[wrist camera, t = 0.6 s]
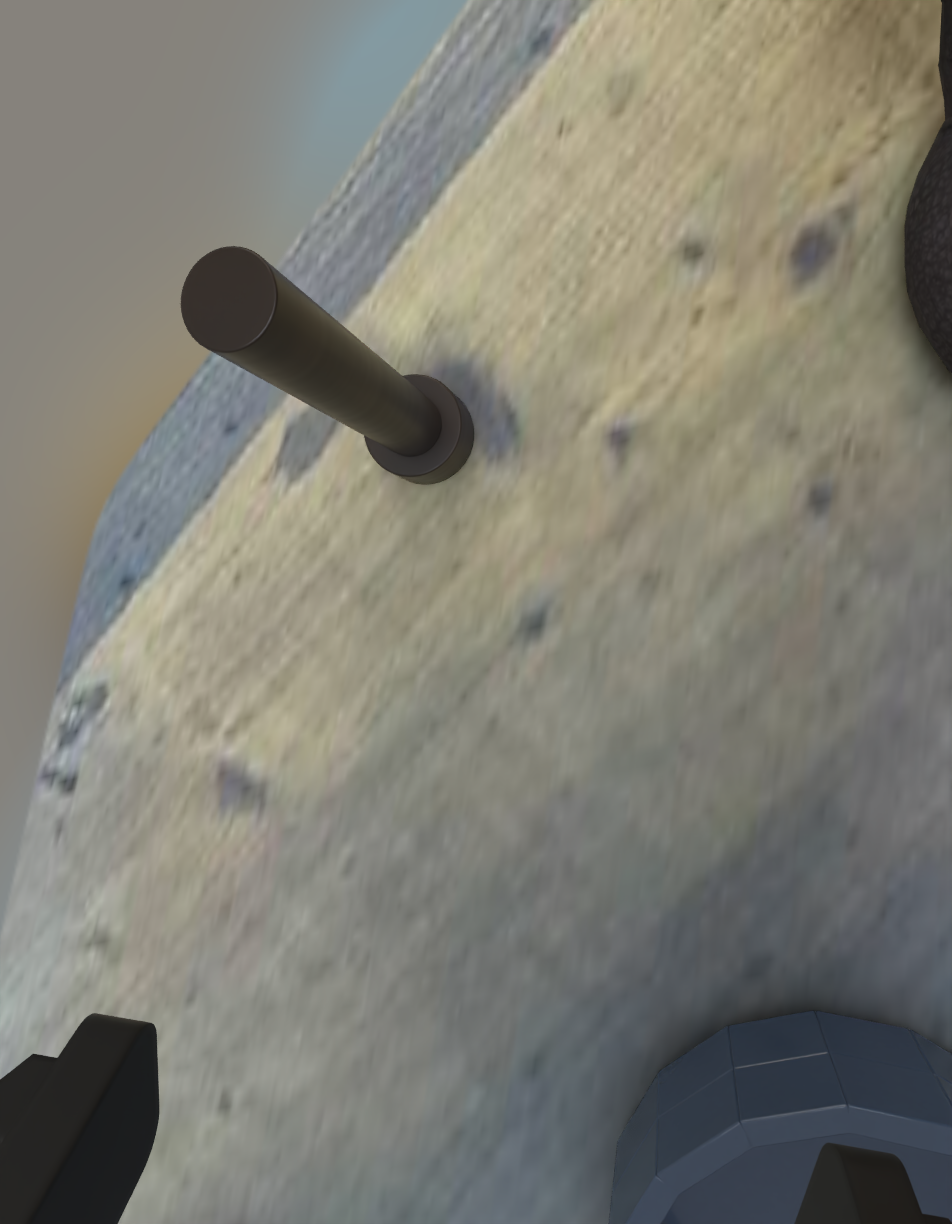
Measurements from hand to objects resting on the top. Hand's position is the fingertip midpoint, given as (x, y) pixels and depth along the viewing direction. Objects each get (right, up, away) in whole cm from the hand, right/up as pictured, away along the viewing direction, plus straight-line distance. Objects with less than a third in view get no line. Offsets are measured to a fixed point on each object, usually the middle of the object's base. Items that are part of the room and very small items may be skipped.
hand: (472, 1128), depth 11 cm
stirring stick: (-2, +13, +22) cm, 26 cm away
